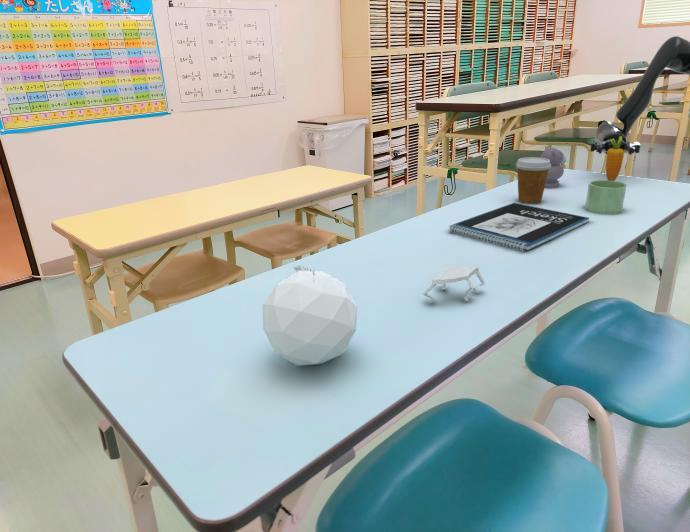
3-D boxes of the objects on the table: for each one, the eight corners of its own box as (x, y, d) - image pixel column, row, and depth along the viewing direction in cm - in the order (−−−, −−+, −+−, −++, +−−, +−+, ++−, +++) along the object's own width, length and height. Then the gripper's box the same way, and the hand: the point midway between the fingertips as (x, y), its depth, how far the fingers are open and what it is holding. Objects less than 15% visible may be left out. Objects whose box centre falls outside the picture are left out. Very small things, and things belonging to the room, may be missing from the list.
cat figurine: (566, 188, 164) (571, 149, 159) (541, 189, 164) (545, 150, 159) (555, 181, 172) (560, 145, 167) (531, 182, 172) (535, 146, 167)
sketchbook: (588, 222, 132) (589, 214, 131) (525, 254, 114) (526, 245, 113) (513, 206, 147) (514, 199, 146) (446, 232, 129) (447, 224, 128)
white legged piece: (449, 281, 102) (450, 258, 100) (486, 293, 97) (488, 268, 95) (410, 301, 95) (411, 277, 93) (449, 316, 89) (450, 290, 87)
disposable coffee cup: (514, 196, 157) (517, 156, 153) (547, 197, 154) (552, 157, 150) (511, 204, 149) (514, 162, 145) (546, 206, 146) (551, 164, 141)
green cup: (615, 204, 145) (619, 180, 142) (626, 214, 137) (631, 188, 134) (581, 204, 146) (585, 180, 144) (590, 213, 138) (594, 188, 136)
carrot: (605, 186, 163) (613, 138, 158) (599, 182, 168) (606, 135, 162) (622, 186, 163) (630, 137, 157) (615, 182, 168) (622, 135, 162)
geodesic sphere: (237, 307, 82) (250, 256, 71) (316, 285, 89) (340, 235, 77) (274, 393, 76) (295, 352, 65) (356, 362, 83) (388, 320, 71)
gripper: (591, 130, 177) (592, 138, 164) (638, 131, 172) (643, 139, 158) (588, 152, 180) (589, 161, 166) (635, 154, 175) (639, 163, 161)
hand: (615, 150), depth 162 cm, fingers open, 8 cm apart
